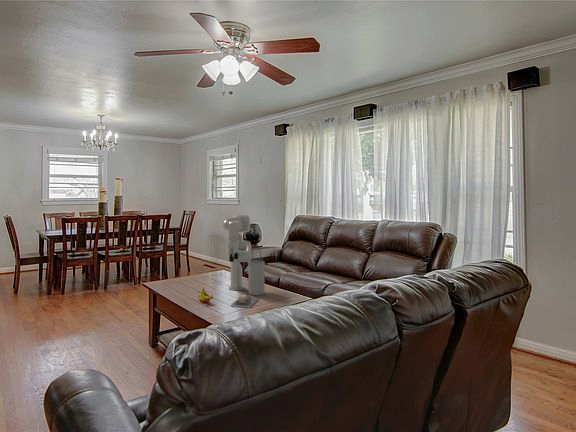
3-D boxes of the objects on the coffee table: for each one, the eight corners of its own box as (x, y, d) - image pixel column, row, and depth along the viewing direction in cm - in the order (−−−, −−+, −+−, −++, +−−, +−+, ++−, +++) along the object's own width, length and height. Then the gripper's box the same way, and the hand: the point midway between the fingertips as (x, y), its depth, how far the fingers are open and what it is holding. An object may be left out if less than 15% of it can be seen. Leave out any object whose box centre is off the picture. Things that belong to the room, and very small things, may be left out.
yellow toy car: (204, 305, 260) (204, 291, 260) (194, 299, 275) (194, 286, 274) (213, 303, 264) (213, 290, 264) (203, 297, 279) (203, 284, 278)
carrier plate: (240, 298, 278) (240, 295, 278) (258, 299, 275) (258, 296, 275) (230, 306, 259) (230, 302, 258) (249, 307, 256) (249, 304, 255)
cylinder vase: (265, 291, 297) (265, 260, 296) (263, 295, 285) (263, 263, 283) (250, 291, 299) (250, 260, 297) (247, 295, 286) (247, 263, 285)
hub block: (241, 301, 266) (241, 295, 265) (247, 302, 265) (247, 295, 264) (238, 303, 261) (238, 296, 261) (244, 304, 260) (244, 297, 260)
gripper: (233, 236, 289) (233, 258, 291) (224, 239, 272) (224, 262, 274) (242, 236, 288) (242, 258, 289) (234, 240, 271) (234, 263, 272)
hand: (233, 260), depth 282 cm, fingers open, 9 cm apart
